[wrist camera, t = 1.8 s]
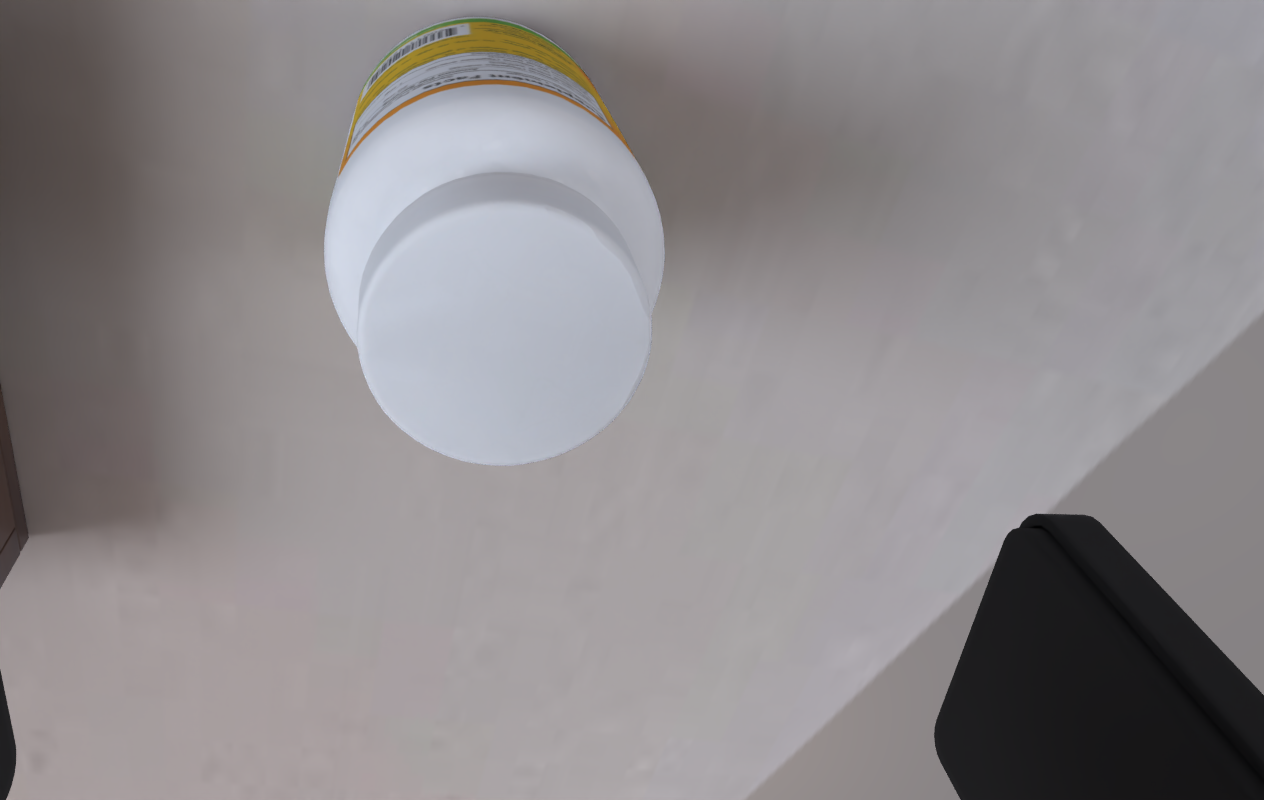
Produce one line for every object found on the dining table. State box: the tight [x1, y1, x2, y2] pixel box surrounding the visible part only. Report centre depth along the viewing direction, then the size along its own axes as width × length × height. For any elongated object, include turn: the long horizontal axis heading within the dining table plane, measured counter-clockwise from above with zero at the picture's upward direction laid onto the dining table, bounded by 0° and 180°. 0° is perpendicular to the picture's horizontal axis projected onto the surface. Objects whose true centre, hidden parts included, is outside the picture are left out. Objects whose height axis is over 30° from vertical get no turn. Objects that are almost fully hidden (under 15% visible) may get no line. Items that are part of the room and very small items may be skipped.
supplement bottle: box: [324, 17, 665, 466], centre depth 18 cm, size 5×5×10 cm
